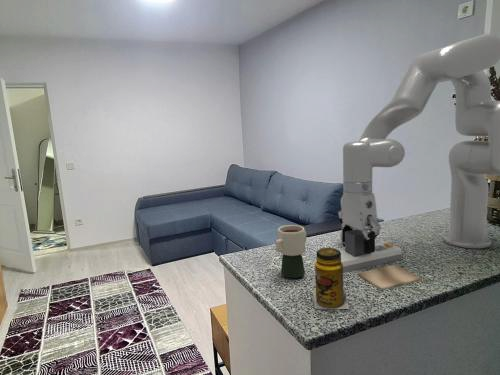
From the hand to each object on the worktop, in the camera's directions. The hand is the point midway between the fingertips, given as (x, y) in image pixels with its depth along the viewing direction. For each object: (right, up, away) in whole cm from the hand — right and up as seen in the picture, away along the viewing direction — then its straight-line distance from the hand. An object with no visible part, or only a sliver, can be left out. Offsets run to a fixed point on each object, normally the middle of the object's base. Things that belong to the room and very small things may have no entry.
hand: (357, 246), depth 93 cm
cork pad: (+5, -6, -9) cm, 12 cm away
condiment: (-12, -9, -18) cm, 23 cm away
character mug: (-19, -7, -4) cm, 21 cm away
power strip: (+2, -4, +2) cm, 5 cm away
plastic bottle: (+3, -2, +15) cm, 16 cm away
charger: (0, -3, +1) cm, 3 cm away
